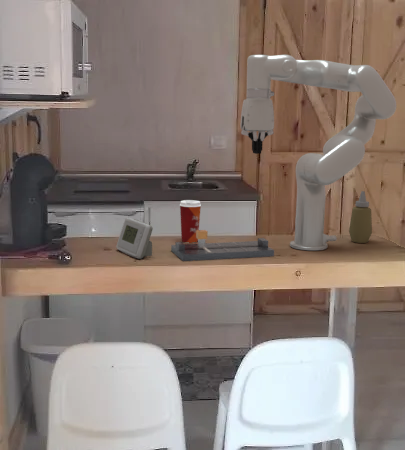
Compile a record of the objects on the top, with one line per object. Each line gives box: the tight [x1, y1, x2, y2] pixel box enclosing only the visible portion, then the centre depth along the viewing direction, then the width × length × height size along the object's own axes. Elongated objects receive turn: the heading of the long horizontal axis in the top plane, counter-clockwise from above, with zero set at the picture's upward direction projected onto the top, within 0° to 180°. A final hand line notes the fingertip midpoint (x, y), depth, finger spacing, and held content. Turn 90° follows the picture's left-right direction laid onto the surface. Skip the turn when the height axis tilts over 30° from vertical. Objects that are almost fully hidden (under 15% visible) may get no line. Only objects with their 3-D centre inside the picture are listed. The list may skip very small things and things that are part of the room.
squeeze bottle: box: [348, 190, 373, 244], centre depth 233 cm, size 8×8×18 cm
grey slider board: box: [170, 237, 275, 262], centre depth 211 cm, size 30×14×4 cm, turn 107°
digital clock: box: [116, 217, 153, 260], centre depth 208 cm, size 16×9×11 cm, turn 21°
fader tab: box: [196, 229, 208, 248], centre depth 209 cm, size 3×2×5 cm
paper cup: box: [179, 199, 202, 244], centre depth 228 cm, size 8×8×14 cm
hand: (256, 153), depth 212 cm, fingers closed
